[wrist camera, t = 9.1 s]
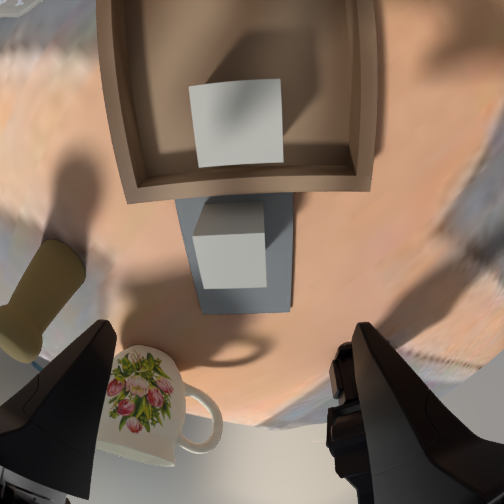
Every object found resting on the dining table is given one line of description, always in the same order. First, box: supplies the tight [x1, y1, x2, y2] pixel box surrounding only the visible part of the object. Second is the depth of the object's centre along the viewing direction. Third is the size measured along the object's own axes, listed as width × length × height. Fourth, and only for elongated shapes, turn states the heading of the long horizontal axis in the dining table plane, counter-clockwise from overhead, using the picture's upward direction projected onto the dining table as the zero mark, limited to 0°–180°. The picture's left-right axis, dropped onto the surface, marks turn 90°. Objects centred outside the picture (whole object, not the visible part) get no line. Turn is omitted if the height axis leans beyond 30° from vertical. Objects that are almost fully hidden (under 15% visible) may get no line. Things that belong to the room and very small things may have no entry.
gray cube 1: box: [189, 79, 283, 168], centre depth 13 cm, size 4×4×4 cm
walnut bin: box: [96, 0, 378, 204], centre depth 12 cm, size 15×15×2 cm
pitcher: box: [95, 345, 223, 467], centre depth 26 cm, size 11×18×14 cm, turn 72°
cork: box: [0, 239, 86, 363], centre depth 18 cm, size 6×6×11 cm
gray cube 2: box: [192, 201, 267, 289], centre depth 18 cm, size 4×4×4 cm
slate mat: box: [175, 192, 293, 314], centre depth 21 cm, size 8×12×1 cm, turn 4°
